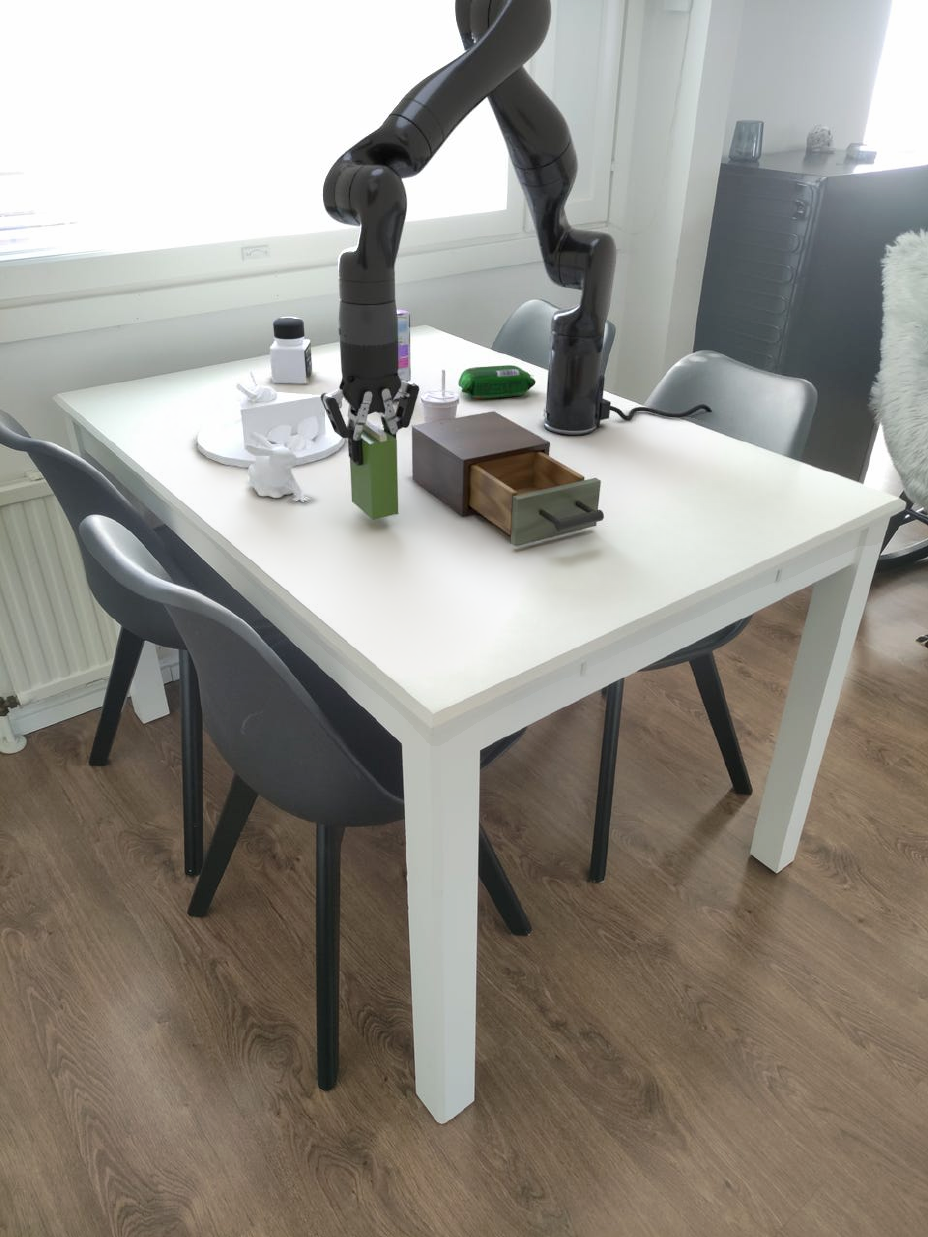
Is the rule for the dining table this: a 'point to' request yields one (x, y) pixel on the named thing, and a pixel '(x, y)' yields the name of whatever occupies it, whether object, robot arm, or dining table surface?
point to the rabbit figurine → (273, 469)
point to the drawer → (533, 496)
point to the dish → (271, 427)
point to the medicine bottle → (290, 352)
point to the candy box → (403, 347)
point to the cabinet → (465, 452)
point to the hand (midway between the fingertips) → (373, 460)
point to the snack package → (495, 381)
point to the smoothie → (439, 404)
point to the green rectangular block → (376, 474)
